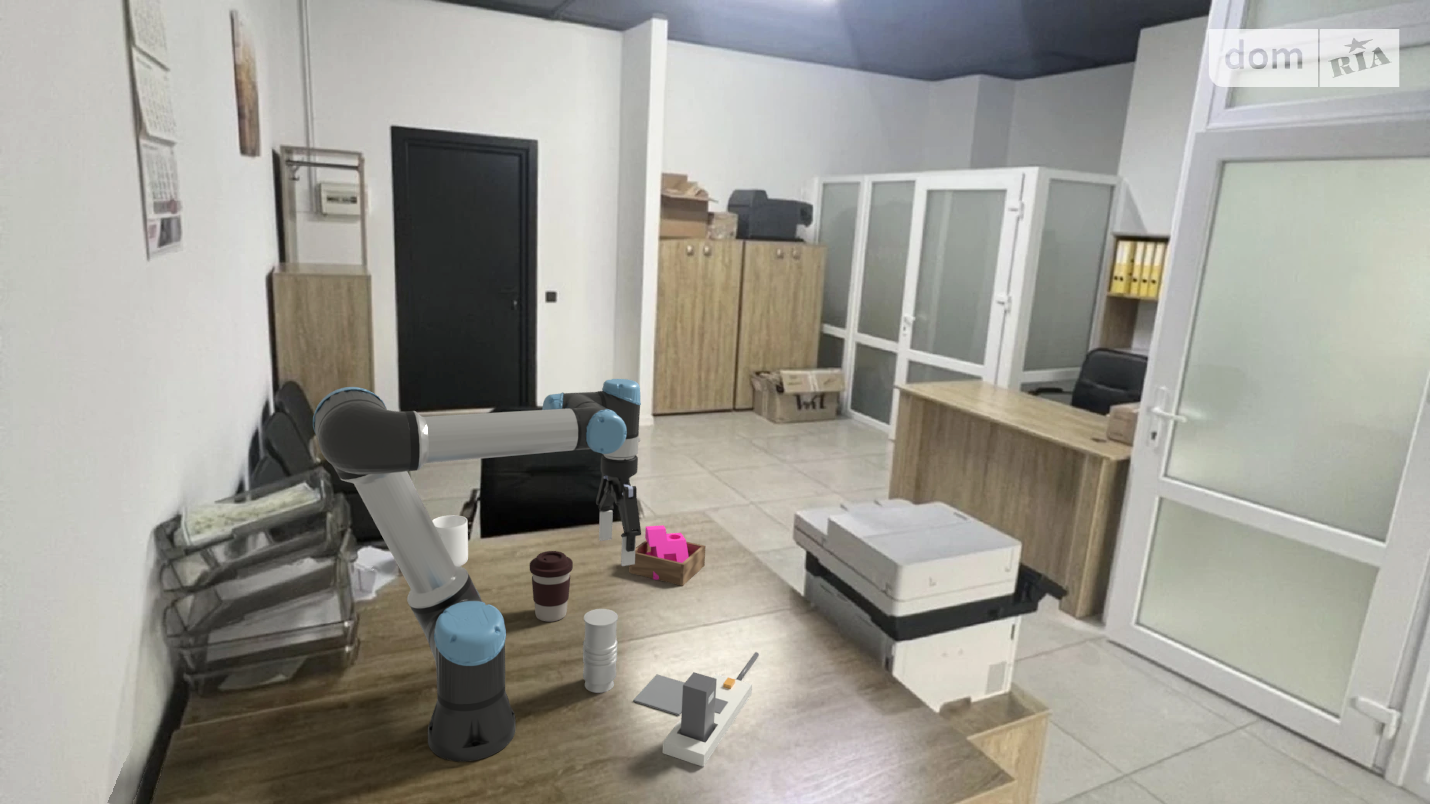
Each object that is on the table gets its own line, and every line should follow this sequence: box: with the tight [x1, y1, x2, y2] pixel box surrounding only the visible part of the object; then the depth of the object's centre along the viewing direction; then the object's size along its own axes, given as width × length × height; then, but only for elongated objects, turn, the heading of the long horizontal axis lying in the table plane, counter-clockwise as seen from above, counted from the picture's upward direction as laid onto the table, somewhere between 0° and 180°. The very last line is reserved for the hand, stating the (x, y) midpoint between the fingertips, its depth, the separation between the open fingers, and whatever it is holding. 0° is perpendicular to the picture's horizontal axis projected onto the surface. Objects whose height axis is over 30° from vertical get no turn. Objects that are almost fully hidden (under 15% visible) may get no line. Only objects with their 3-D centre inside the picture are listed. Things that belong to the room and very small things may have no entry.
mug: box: [432, 514, 469, 567], centre depth 205 cm, size 10×12×12 cm
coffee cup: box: [529, 550, 574, 623], centre depth 181 cm, size 10×10×15 cm
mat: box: [633, 673, 686, 717], centre depth 153 cm, size 10×10×1 cm
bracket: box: [644, 524, 689, 581], centre depth 209 cm, size 12×10×10 cm
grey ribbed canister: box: [582, 608, 619, 694], centre depth 154 cm, size 7×7×15 cm
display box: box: [628, 539, 706, 587], centre depth 209 cm, size 14×16×6 cm
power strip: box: [662, 651, 760, 768], centre depth 152 cm, size 38×8×3 cm, turn 157°
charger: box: [680, 671, 717, 743], centre depth 139 cm, size 5×5×12 cm
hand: (616, 551), depth 161 cm, fingers open, 13 cm apart
